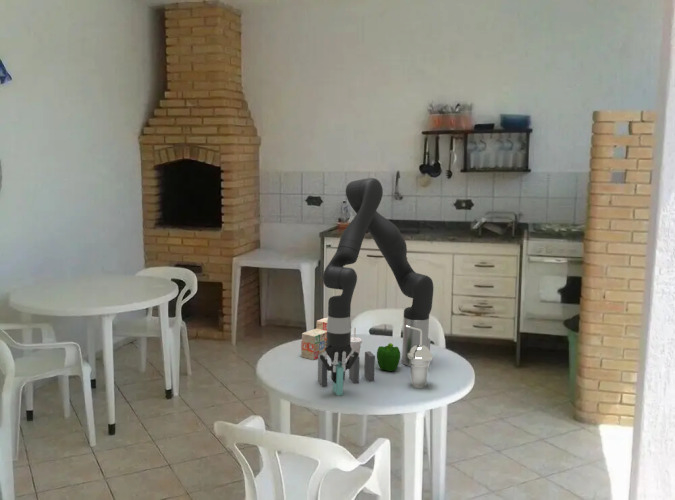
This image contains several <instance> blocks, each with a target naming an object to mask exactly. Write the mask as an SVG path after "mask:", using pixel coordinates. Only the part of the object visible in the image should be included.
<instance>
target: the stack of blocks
mask: <svg viewBox="0 0 675 500" xmlns="http://www.w3.org/2000/svg"><path fill="white" fill-rule="evenodd" d="M327 320H328V316H326V317H324V318H321V319H318V320H316V325H315V326H316V328H314V329H311V330H307V331H304V332H302V333H301V344H300V345H301V348H300V349H301V351H300V352H301V354H300V355H301V357H302V358H305V359H309V360H311V361H315V360H318V354H319V353H323V352H324V351H325V348H326V346H327Z"/></svg>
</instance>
